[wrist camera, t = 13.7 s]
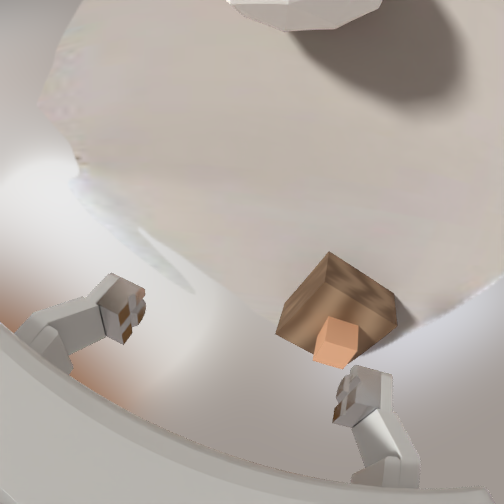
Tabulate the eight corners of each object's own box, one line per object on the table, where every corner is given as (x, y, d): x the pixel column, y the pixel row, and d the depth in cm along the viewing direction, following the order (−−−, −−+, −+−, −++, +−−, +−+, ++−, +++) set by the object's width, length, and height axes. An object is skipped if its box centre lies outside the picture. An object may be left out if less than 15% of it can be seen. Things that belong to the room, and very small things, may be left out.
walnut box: (393, 292, 48) (397, 326, 41) (344, 336, 56) (341, 368, 50) (329, 250, 47) (324, 281, 41) (285, 302, 55) (275, 333, 49)
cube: (358, 325, 43) (357, 350, 39) (345, 345, 46) (342, 369, 42) (328, 316, 44) (325, 341, 40) (317, 336, 47) (312, 360, 43)
